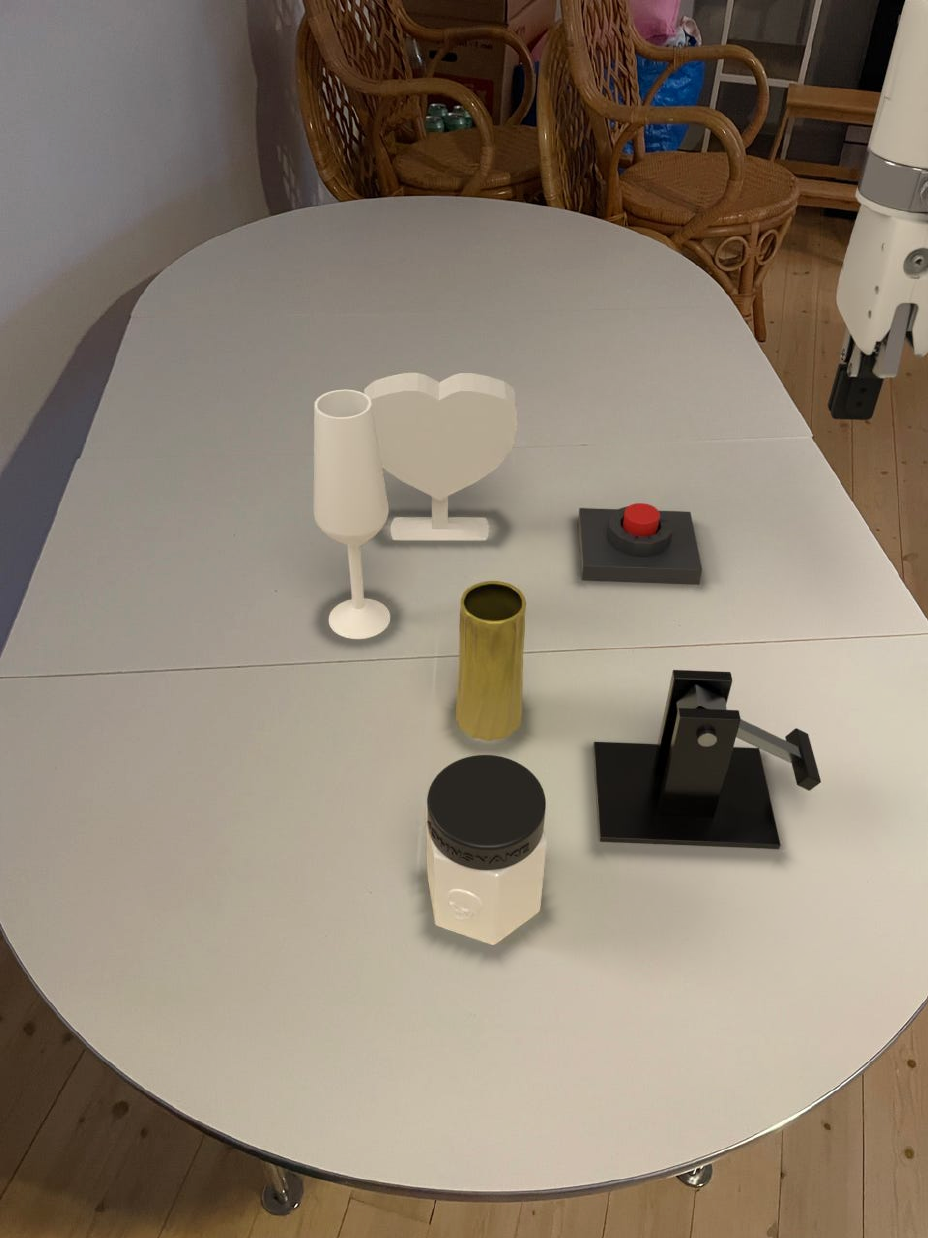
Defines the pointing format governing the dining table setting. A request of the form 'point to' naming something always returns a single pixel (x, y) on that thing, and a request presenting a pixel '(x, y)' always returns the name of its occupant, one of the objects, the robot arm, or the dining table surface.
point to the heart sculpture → (442, 443)
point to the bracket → (686, 779)
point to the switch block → (637, 549)
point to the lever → (764, 738)
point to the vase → (491, 660)
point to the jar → (485, 846)
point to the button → (641, 519)
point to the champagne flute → (350, 498)
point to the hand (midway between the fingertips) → (848, 413)
